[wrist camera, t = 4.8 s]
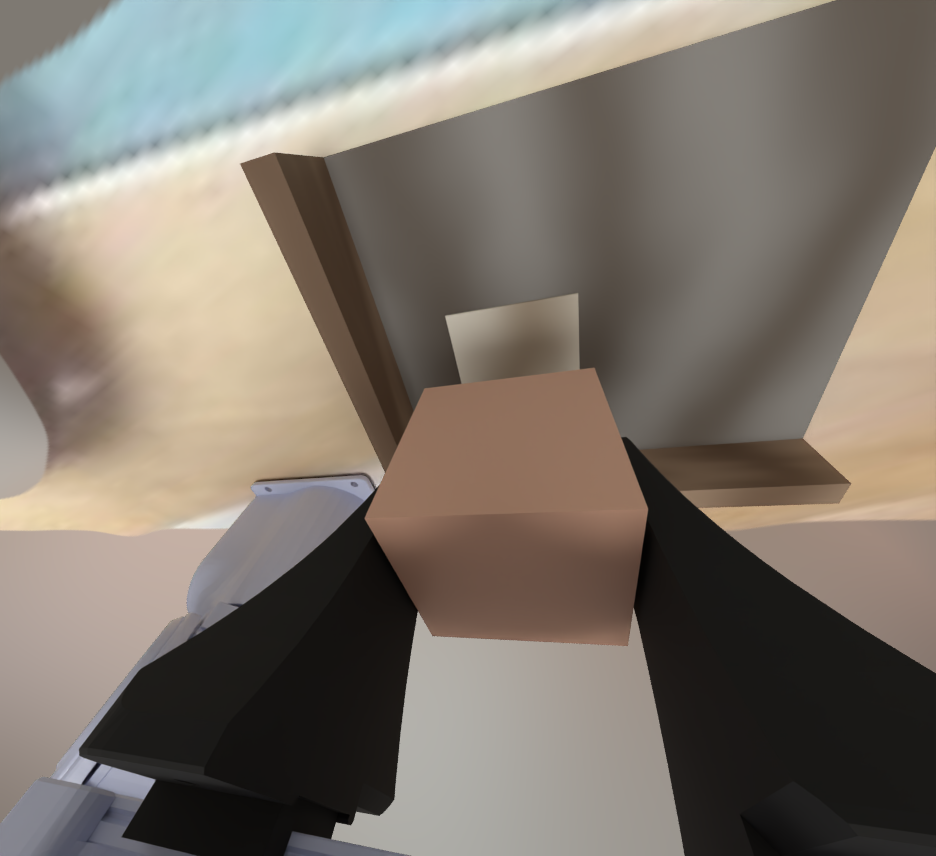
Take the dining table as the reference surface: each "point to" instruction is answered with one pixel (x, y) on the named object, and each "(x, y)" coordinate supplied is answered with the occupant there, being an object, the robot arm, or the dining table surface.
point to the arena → (633, 241)
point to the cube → (515, 512)
